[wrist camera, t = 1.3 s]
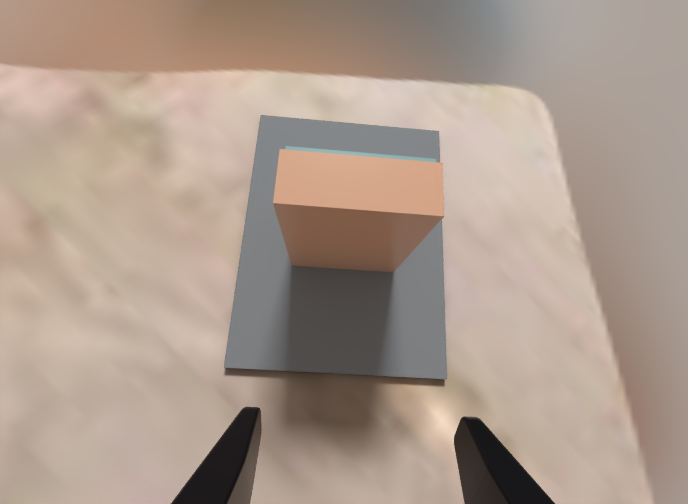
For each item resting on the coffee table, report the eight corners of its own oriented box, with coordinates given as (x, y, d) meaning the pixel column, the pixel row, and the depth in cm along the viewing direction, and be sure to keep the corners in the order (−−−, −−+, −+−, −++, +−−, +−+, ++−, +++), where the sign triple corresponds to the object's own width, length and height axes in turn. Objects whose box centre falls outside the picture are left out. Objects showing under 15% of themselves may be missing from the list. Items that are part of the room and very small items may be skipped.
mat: (444, 378, 22) (446, 379, 22) (225, 367, 22) (223, 367, 21) (437, 134, 28) (438, 131, 27) (261, 118, 27) (260, 115, 27)
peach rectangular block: (393, 272, 24) (444, 216, 14) (291, 265, 23) (272, 203, 14) (394, 234, 25) (442, 156, 15) (295, 226, 24) (280, 142, 15)
